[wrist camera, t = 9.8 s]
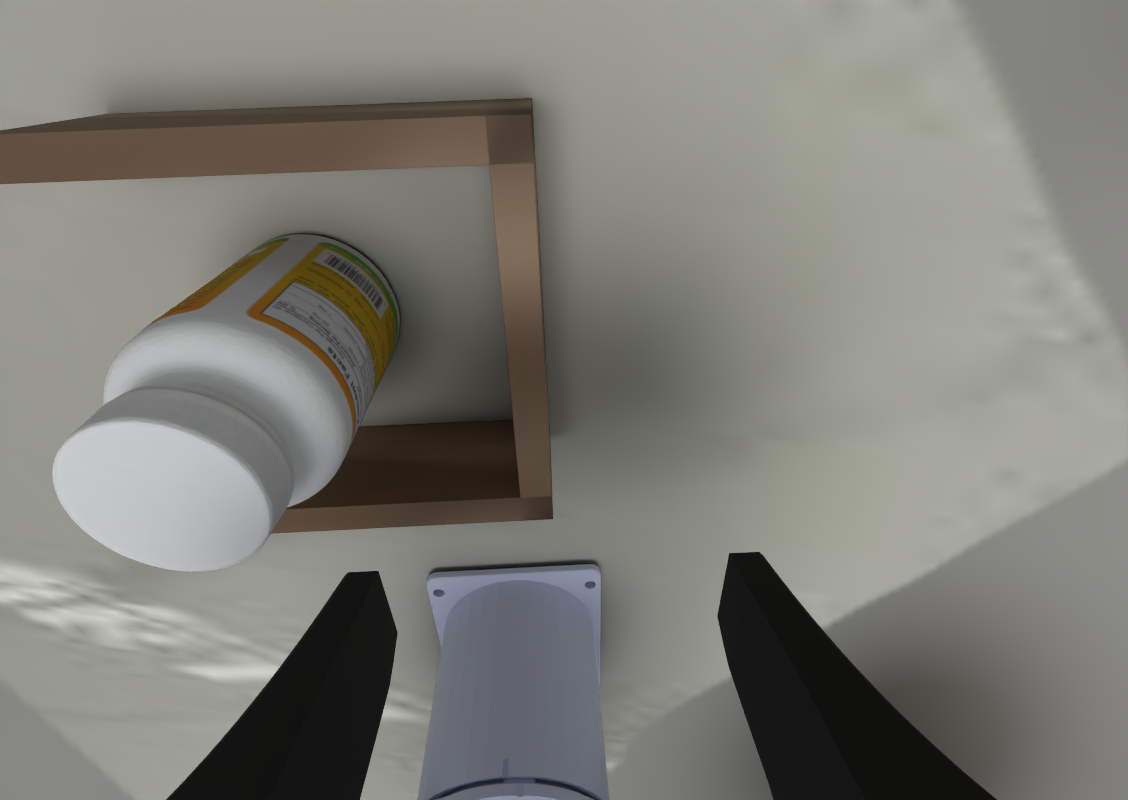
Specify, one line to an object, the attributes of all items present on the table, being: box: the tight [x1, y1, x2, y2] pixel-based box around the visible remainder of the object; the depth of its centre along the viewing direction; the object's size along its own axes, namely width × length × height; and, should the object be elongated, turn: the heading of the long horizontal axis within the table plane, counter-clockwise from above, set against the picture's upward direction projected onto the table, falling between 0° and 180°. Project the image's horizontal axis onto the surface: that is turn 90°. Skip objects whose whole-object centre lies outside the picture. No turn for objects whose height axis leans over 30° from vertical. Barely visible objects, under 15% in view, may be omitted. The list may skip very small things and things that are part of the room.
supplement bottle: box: [53, 234, 400, 571], centre depth 15 cm, size 5×5×10 cm
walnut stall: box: [0, 98, 553, 533], centre depth 17 cm, size 12×12×4 cm
